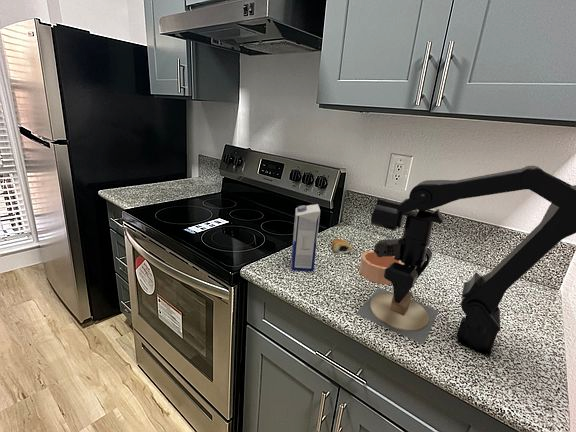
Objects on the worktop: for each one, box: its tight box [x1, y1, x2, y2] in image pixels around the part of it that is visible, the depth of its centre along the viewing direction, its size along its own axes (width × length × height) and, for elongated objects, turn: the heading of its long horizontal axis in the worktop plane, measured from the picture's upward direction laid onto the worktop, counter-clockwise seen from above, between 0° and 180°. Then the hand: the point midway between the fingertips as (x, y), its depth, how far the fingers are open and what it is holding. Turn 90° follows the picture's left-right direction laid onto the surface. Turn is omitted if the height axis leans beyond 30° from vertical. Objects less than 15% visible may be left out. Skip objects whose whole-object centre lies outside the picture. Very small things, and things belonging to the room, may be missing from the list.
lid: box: [370, 290, 429, 331], centre depth 77 cm, size 14×14×6 cm
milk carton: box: [290, 203, 321, 273], centre depth 95 cm, size 7×7×20 cm
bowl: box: [359, 250, 404, 286], centre depth 96 cm, size 12×12×6 cm
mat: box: [355, 287, 440, 345], centre depth 78 cm, size 16×16×1 cm
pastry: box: [331, 237, 352, 254], centre depth 113 cm, size 9×7×4 cm
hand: (403, 294), depth 76 cm, fingers open, 9 cm apart
